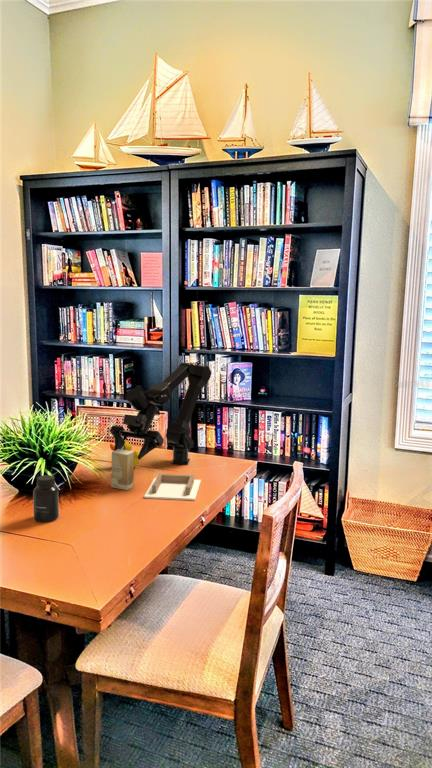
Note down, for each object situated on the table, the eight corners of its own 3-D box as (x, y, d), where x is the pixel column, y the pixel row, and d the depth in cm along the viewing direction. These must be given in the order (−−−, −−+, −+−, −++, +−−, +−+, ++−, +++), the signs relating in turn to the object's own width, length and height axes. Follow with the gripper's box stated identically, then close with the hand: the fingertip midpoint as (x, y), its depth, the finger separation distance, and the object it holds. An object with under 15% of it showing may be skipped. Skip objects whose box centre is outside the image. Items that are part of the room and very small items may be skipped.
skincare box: (110, 487, 182) (110, 451, 181) (117, 483, 186) (117, 448, 185) (127, 490, 180) (127, 454, 178) (134, 486, 184) (134, 450, 182)
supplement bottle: (36, 524, 152) (34, 483, 150) (31, 516, 158) (30, 475, 156) (61, 520, 155) (60, 479, 153) (56, 512, 161) (55, 472, 159)
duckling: (108, 468, 202) (107, 442, 200) (112, 464, 207) (111, 438, 206) (138, 470, 201) (138, 443, 200) (142, 465, 206) (141, 439, 205)
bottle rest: (154, 479, 192) (154, 470, 191) (200, 481, 190) (201, 472, 190) (144, 498, 174) (144, 488, 173) (194, 500, 173) (195, 490, 172)
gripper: (112, 402, 190) (92, 440, 182) (159, 407, 183) (141, 448, 174) (125, 420, 198) (107, 457, 190) (171, 426, 191) (154, 465, 183)
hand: (126, 457), depth 184 cm, fingers open, 9 cm apart
